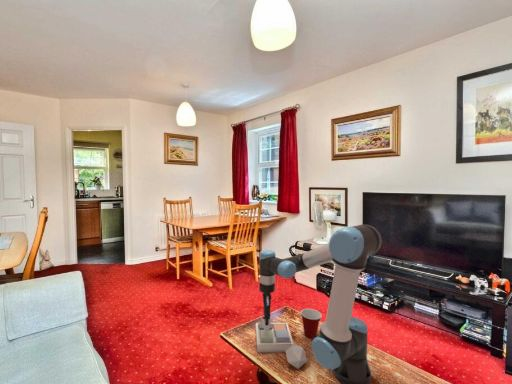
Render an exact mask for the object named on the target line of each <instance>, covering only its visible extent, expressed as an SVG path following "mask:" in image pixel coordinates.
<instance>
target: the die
mask: <svg viewBox="0 0 512 384" xmlns="http://www.w3.org/2000/svg"><path fill="white" fill-rule="evenodd" d="M293 343H294V344H293V345H291V346H290V347H289V348H288V349H287V350H286V351H285V352H284V353H285V354H286V355H285V356H286V360H287V363H288V364H289V365H292V366H293V367H294V368H295V369H297V370H299V369H300V368H301V367H302V366H303V365H304V364H305V363H307V361H308V359H307V355H306V352H305V350H304V348H303V347H301V346H300V345H299V344H296V343H295V342H293Z"/></svg>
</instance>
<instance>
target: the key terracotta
mask: <svg viewBox="0 0 512 384" xmlns="http://www.w3.org/2000/svg"><path fill="white" fill-rule="evenodd" d="M273 329H274V334H275V330H286V327H285V324H273Z"/></svg>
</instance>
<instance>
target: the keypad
mask: <svg viewBox="0 0 512 384" xmlns="http://www.w3.org/2000/svg"><path fill="white" fill-rule="evenodd" d="M273 324H285V327H286V330H287V331H288V334H289V343H277V341H276V336H275V334H274V329H273ZM271 327H272V332H273V337H274V343H261V339H260V329H259V322H255V337H256V339H255V340H256V352H257V353H258V354H263V353H264V354H268V353H275V354H276V353H286V352H285V351H286V350H287V349H288V348H289V347H290V346H291V345H293V344H294V343H295V342H294V340H293V337H292V333H291V331H290V326H289V324H288V322H271Z"/></svg>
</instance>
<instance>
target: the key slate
mask: <svg viewBox="0 0 512 384" xmlns="http://www.w3.org/2000/svg"><path fill="white" fill-rule="evenodd" d="M275 336H276V341H277V343H289V334H288V331H287V330H275Z"/></svg>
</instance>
